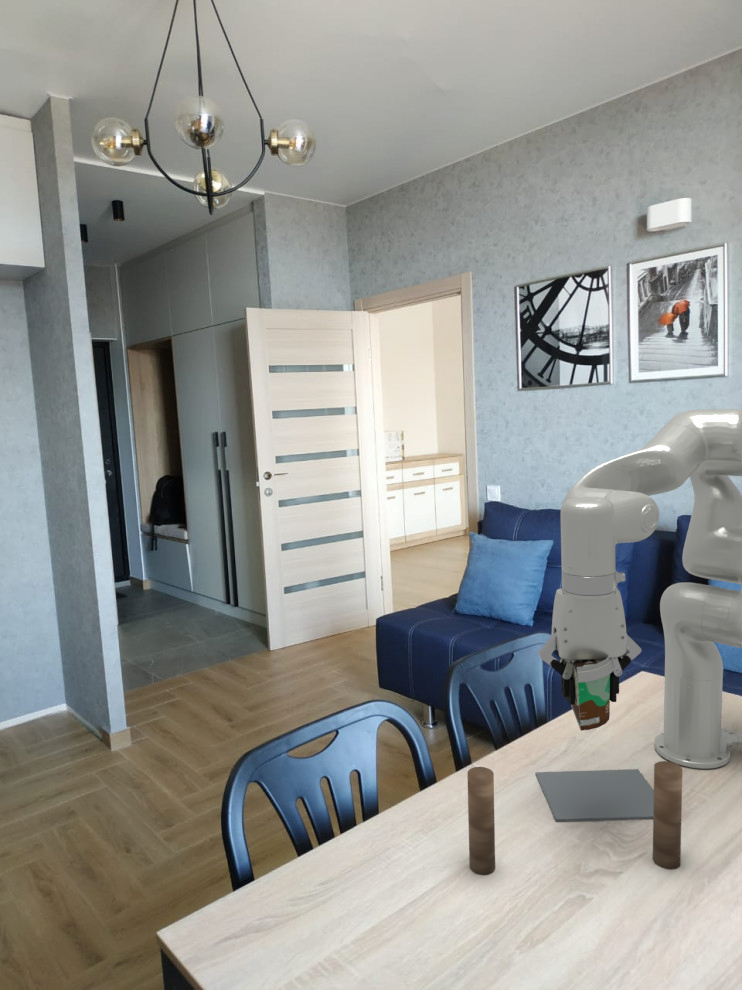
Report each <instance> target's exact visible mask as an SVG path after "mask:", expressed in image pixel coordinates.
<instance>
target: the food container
mask: <svg viewBox="0 0 742 990" xmlns="http://www.w3.org/2000/svg"><path fill="white" fill-rule="evenodd" d="M614 668H615V666H614V663H613V659H612V658H610V657H609V655H608V657H607V658H606V659H595V660H577V661H576V662H574V669H573V672H572V677H573V678H574V680H575V704H574V705H570V706H571V710H572V711H573V714H574V717H575V719H576V722H577V725H578V727H579V730H580V731H589V730H594V729H598V728H600V727H602V726H604V725H606V724H607V723H608V721H609V720H610V715H611V713H610V712H611V711H610V709H611V707H610V706H611V705H610V703H611V701H610V674H611V673H612V672H613V670H614Z"/></svg>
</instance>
